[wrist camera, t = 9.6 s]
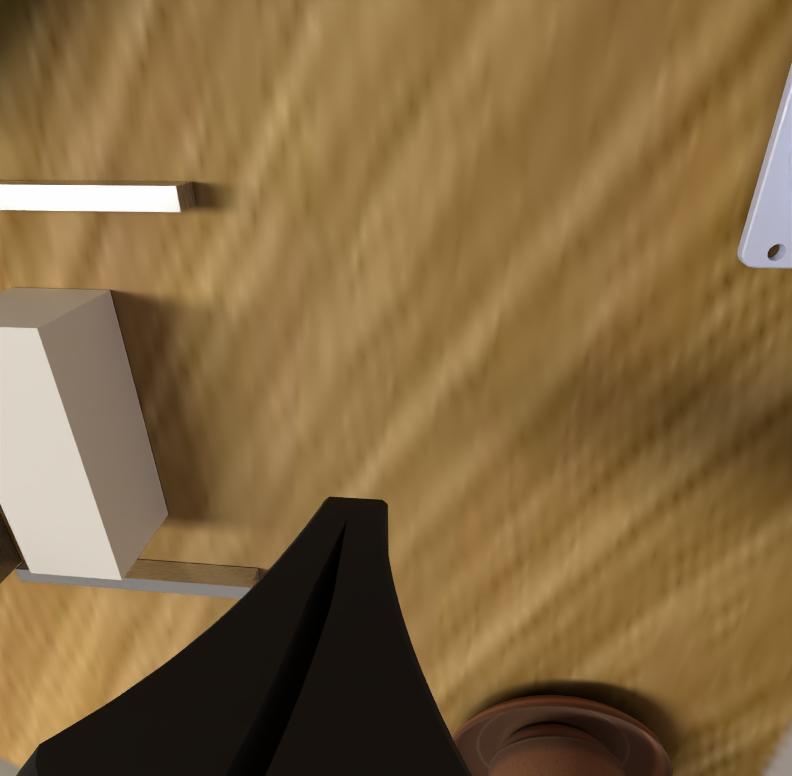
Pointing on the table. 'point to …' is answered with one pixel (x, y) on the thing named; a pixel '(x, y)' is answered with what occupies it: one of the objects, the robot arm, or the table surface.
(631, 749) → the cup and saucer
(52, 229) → the table surface
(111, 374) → the seated block
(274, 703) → the robot arm
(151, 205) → the grey pronged frame
